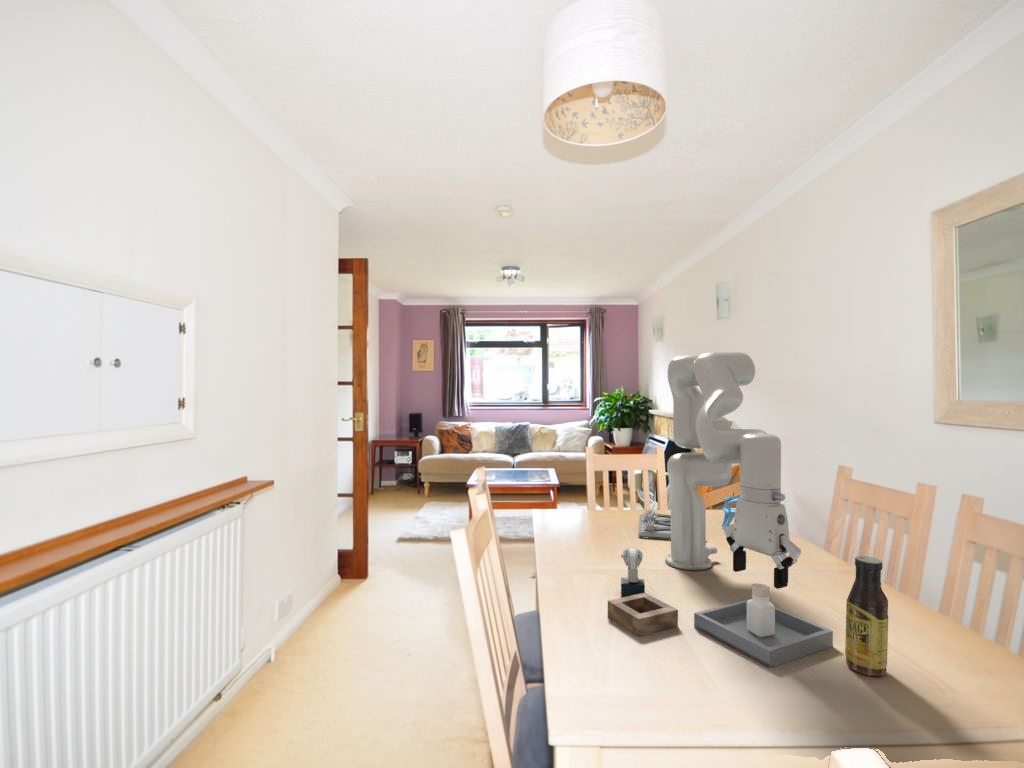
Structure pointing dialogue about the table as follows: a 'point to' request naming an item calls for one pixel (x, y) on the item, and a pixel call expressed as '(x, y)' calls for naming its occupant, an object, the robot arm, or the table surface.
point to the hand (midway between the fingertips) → (759, 578)
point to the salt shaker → (760, 612)
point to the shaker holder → (642, 614)
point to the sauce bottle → (867, 620)
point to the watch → (632, 573)
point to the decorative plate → (654, 525)
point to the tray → (782, 647)
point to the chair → (729, 510)
